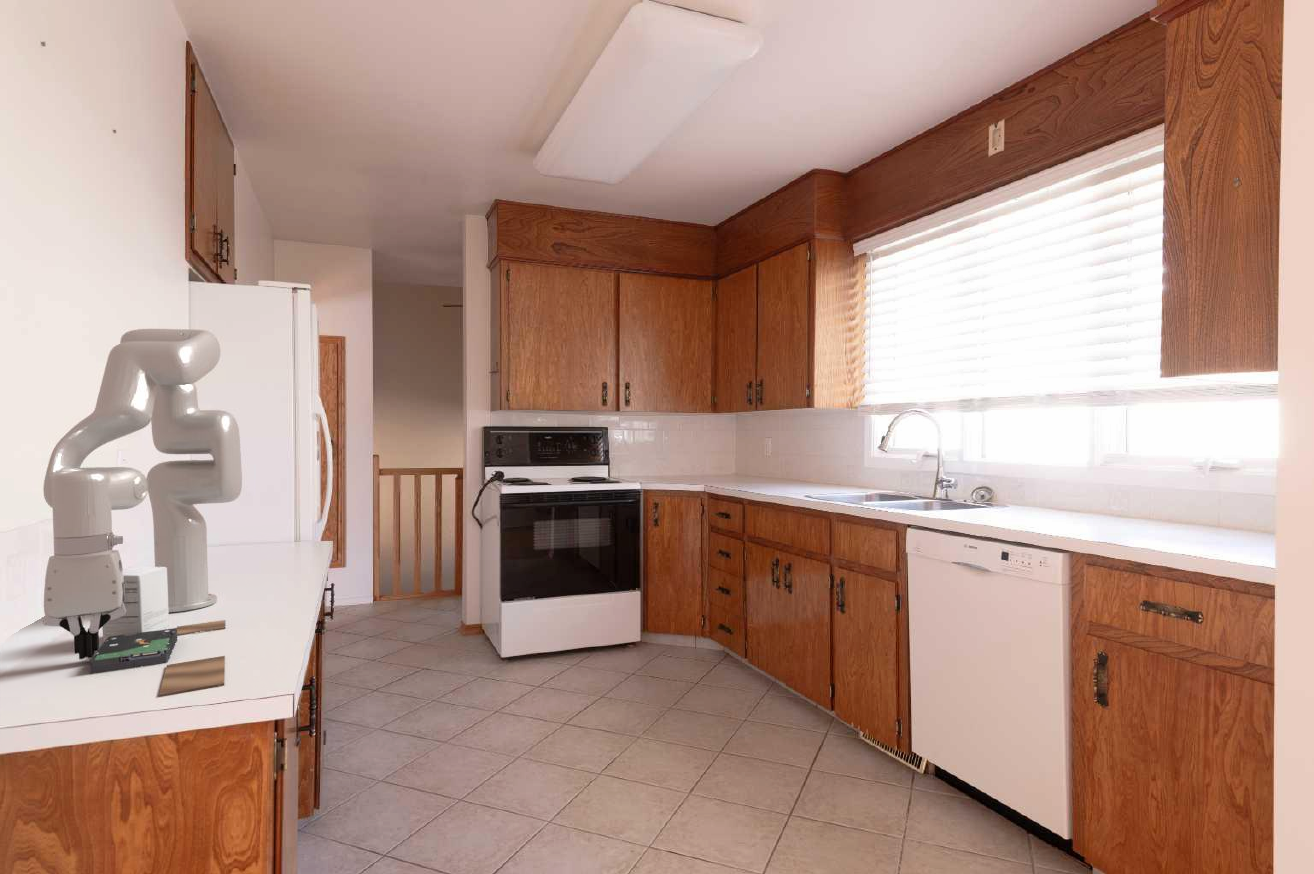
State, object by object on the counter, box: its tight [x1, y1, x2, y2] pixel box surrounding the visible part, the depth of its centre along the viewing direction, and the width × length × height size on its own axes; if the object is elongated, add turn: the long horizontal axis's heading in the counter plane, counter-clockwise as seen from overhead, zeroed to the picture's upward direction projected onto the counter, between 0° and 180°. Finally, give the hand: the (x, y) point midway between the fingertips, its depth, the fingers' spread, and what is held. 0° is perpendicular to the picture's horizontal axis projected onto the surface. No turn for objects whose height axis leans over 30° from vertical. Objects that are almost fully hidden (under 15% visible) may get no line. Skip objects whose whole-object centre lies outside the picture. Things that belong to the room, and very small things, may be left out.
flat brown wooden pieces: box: [158, 619, 226, 697], centre depth 121 cm, size 41×8×1 cm, turn 31°
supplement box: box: [101, 566, 170, 644], centre depth 130 cm, size 7×7×13 cm
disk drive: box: [89, 627, 178, 675], centre depth 120 cm, size 10×3×15 cm
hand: (87, 655), depth 117 cm, fingers closed
